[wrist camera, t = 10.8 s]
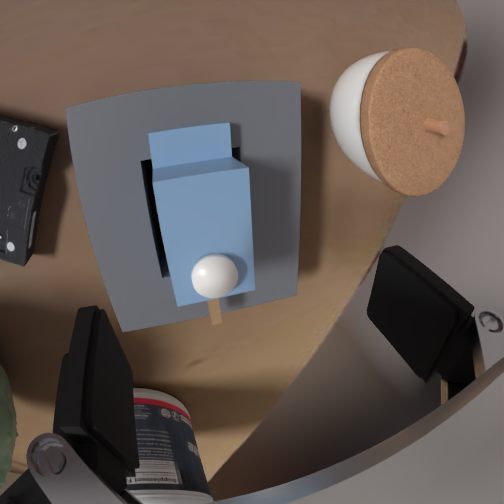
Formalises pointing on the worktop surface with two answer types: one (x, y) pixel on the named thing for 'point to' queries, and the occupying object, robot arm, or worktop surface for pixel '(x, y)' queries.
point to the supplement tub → (166, 453)
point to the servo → (203, 214)
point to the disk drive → (22, 184)
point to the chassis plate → (138, 200)
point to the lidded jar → (399, 119)
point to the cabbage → (6, 426)
